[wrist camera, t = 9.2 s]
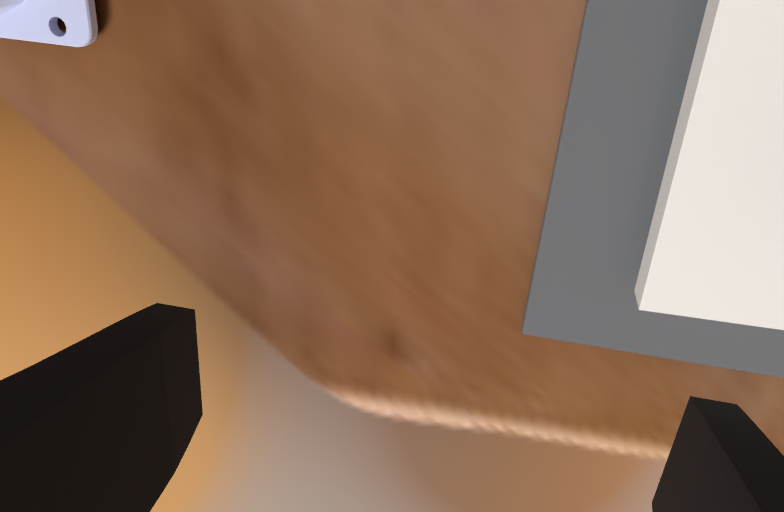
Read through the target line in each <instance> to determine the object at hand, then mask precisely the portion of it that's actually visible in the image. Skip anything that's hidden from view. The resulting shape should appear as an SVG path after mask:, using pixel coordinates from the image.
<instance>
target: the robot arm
mask: <svg viewBox="0 0 784 512" xmlns="http://www.w3.org/2000/svg"><path fill="white" fill-rule="evenodd" d="M58 18H60V19H61V20H62V21H63V22H64V23H65V26H66V33H63V32H62V31H61V30H60V29H59V26H58V24H57V22H58ZM97 36H98V25H97V17H96V9H95V1H94V0H0V37H1V38H9V39H17V40H25V41H33V42H41V43H49V44H57V45H65V46H73V47H83V46H87V45H90V44H91V43H93V42H94V41H95V40H96V38H97ZM200 388H201V387H200V374H199V361H198V348H197V333H196V321H195V310H193V309H188V308H183V307H176V306H171V305H165V304H159V303H156V304H154V305H152V306H149V307H147V308H145V309H143V310H140V311H138V312H136V313H134V314H132V315H130V316H128V317H126V318H124V319H122V320H120V321H118V322H116V323H114V324H112V325H110V326H108V327H106V328H104V329H103V330H101V331H99V332H97V333H95V334H93V335H91V336H89V337H87V338H85V339H83V340H81V341H79V342H77V343H75V344H73V345H71V346H69V347H68V348H66V349H64V350H62V351H60V352H58V353H56V354H54V355H52V356H50V357H48V358H46V359H44V360H42V361H40V362H38V363H36V364H34V365H32V366H30V367H28V368H26V369H24V370H22V371H20V372H18V373H16V374H13V375H11V376H9V377H7V378H5V379H3V380H0V512H150V511H151V509H152V507H153V506H154V504H155V503H156V501H157V500H158V498H159V497H160V495H161V493H162V492H163V490H164V489H165V487H166V485H167V484H168V482H169V481H170V479H171V478H172V476H173V474H174V473H175V471H176V469H177V467H178V465H179V463H180V461H181V459H182V457H183V455H184V453H185V451H186V449H187V447H188V445H189V443H190V441H191V438H192V436H193V434H194V432H195V430H196V427H197V425H198V423H199V421H200V419H201V417H202V414H203V413H202V400H201V389H200ZM652 509H653V512H784V456H783V455H782V454H781V453H780V451H779V450H778V449H777V448H776V447H775V446H774V445H773V444H772V442H771V441H770V440H769V439H768V438H767V437H766V436H765V434H764V433H763V432H762V431H761V430H760V429H759V428H758V427H757V425H756V424H755V423H754V422H753V421H752V420H751V419H750V418H749V417H748V416H747V414H746V413H745V412H744V411H743V410H742V409H741V408H740V407H739V406H738V405H737V404H731V403H726V402H720V401H714V400H709V399H703V398H697V397H691V396H690V398H689V401H688V404H687V407H686V409H685V412H684V415H683V418H682V420H681V423H680V426H679V429H678V432H677V434H676V437H675V440H674V443H673V445H672V448H671V451H670V454H669V457H668V459H667V462H666V465H665V468H664V471H663V474H662V476H661V479H660V482H659V484H658V487H657V490H656V493H655V496H654V498H653V501H652Z"/></svg>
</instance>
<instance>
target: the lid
mask: <svg viewBox="0 0 784 512" xmlns="http://www.w3.org/2000/svg"><path fill="white" fill-rule="evenodd" d="M634 291H635V296H636V300H637V304H638V308H639V310H643V311H650V312H658V313H665V314H672V315H679V316H686V317H693V318H700V319H707V320H715V321H722V322H729V323H736V324H743V325H750V326H757V327H765V328H772V329H779V330H784V0H708V2H707V6H706V10H705V14H704V18H703V22H702V26H701V29H700V33H699V37H698V41H697V45H696V49H695V53H694V57H693V61H692V65H691V69H690V73H689V77H688V81H687V85H686V89H685V93H684V97H683V100H682V104H681V108H680V112H679V116H678V120H677V124H676V128H675V132H674V136H673V140H672V144H671V148H670V152H669V156H668V160H667V164H666V167H665V171H664V175H663V179H662V183H661V187H660V191H659V195H658V199H657V203H656V207H655V211H654V215H653V219H652V223H651V227H650V231H649V235H648V238H647V242H646V246H645V250H644V254H643V258H642V262H641V266H640V270H639V274H638V278H637V282H636V286H635V290H634Z"/></svg>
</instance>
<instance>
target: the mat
mask: <svg viewBox="0 0 784 512" xmlns="http://www.w3.org/2000/svg"><path fill="white" fill-rule="evenodd" d="M707 2H708V0H587V1H586V6H585V11H584V16H583V21H582V26H581V31H580V37H579V42H578V47H577V52H576V57H575V62H574V67H573V72H572V77H571V82H570V87H569V92H568V97H567V102H566V107H565V112H564V117H563V122H562V127H561V133H560V138H559V143H558V148H557V153H556V158H555V163H554V168H553V173H552V178H551V183H550V188H549V193H548V198H547V203H546V208H545V213H544V218H543V223H542V228H541V234H540V239H539V244H538V249H537V254H536V259H535V264H534V269H533V274H532V279H531V284H530V289H529V294H528V299H527V304H526V309H525V314H524V319H523V324H522V334H526V335H532V336H538V337H544V338H550V339H556V340H561V341H567V342H573V343H579V344H585V345H591V346H597V347H603V348H609V349H615V350H621V351H627V352H633V353H639V354H645V355H650V356H656V357H662V358H668V359H674V360H680V361H686V362H692V363H698V364H704V365H710V366H716V367H722V368H728V369H733V370H739V371H745V372H751V373H757V374H763V375H769V376H775V377H781V378H784V330H779V329H772V328H765V327H757V326H750V325H743V324H736V323H729V322H722V321H715V320H707V319H700V318H693V317H686V316H679V315H672V314H665V313H658V312H650V311H643V310H639V308H638V304H637V300H636V296H635V291H634V290H635V286H636V282H637V278H638V274H639V270H640V266H641V262H642V258H643V254H644V250H645V246H646V242H647V238H648V235H649V231H650V227H651V223H652V219H653V215H654V211H655V207H656V203H657V199H658V195H659V191H660V187H661V183H662V179H663V175H664V171H665V167H666V164H667V160H668V156H669V152H670V148H671V144H672V140H673V136H674V132H675V128H676V124H677V120H678V116H679V112H680V108H681V104H682V100H683V97H684V93H685V89H686V85H687V81H688V77H689V73H690V69H691V65H692V61H693V57H694V53H695V49H696V45H697V41H698V37H699V33H700V29H701V26H702V22H703V18H704V14H705V10H706V6H707Z"/></svg>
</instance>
